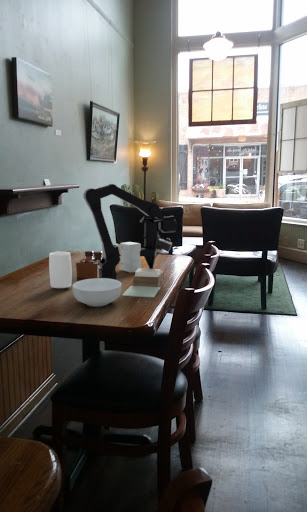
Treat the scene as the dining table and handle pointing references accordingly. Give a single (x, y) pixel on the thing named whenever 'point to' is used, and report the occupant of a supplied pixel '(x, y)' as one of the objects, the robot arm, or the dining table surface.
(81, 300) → the cereal bowl
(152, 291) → the mat
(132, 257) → the small box
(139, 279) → the brown flat wooden block
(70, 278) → the cup
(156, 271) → the white rectangular block
